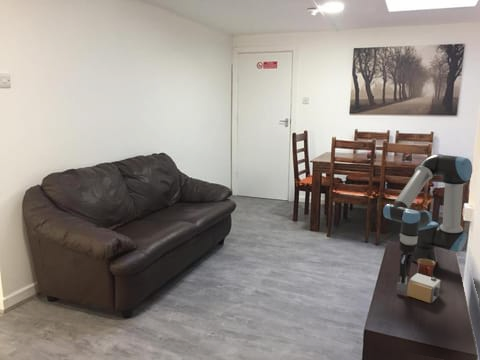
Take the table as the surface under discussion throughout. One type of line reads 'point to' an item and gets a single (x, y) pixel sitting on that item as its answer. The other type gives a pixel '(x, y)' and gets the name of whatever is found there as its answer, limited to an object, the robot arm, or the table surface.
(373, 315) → the table surface
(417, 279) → the housing
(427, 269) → the mug
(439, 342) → the table surface
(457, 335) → the table surface
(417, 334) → the table surface
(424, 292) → the door
